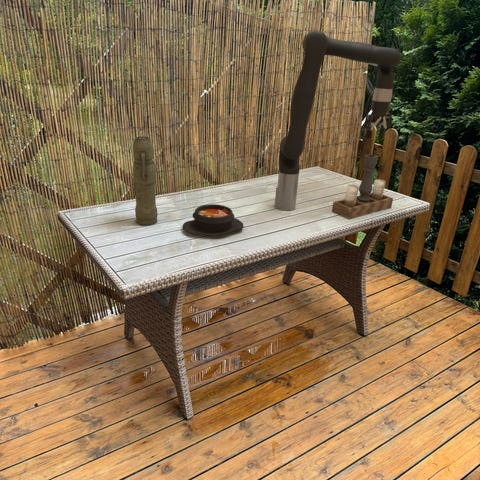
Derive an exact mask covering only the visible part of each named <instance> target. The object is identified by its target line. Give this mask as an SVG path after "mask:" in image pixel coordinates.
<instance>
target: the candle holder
mask: <svg viewBox="0 0 480 480" xmlns="http://www.w3.org/2000/svg"><path fill="white" fill-rule="evenodd" d="M378 159H379V156H378V155H376V154H369V153H368V154H365V155H364V159H363V164H364V167H363V168H362V170H363V177H362V180H361V182H360V185H359V186H358V191H359V195H357V196H358V199H357V201H359V202H361V203H363V204H367V203H370V201H369V200H370V198H369V195H370V193H372V192H373V173H374V172H375V171H376V169H375V167H376V166H377V164H378Z"/></svg>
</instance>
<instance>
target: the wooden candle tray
mask: <svg viewBox="0 0 480 480" xmlns="http://www.w3.org/2000/svg"><path fill="white" fill-rule="evenodd" d="M386 182H387V181H386V180H384V179H380V178H377V179H374V182H373V185H372V192H371V193H370V195H369V198H370V200H369V201H370V203H367V204H363V203H361V202H359V201H357V199H358V196H359V195H358V191H359V186H357V185H355V184H348V185H346V191H345V197H344V199H339V200H338V199H337V200H335V201H333V202H332V208H331V212H332V213H334V214H336V215H338V216H341V217H342V218H344V219H347V220H352V219H355V218H359V217H362V216H367V215H371V214H374V213H377V212H381V211H385V210H389V209H391V208H392V205H393V201H394V198H393V197H391V196H388V195H386V194H384V191H385V187H386V186H385V185H386Z"/></svg>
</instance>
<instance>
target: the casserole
mask: <svg viewBox="0 0 480 480" xmlns="http://www.w3.org/2000/svg"><path fill="white" fill-rule="evenodd" d="M192 218H193V219H192V220H187V221H184V223H183V224H182V229H183V230H184V231H185V232H186V233H189V234H194V235H206V236H223V235H227V234H230V233H232V232H235V231H239V230H242V229H244V223H243V222H242V221H241V220H239V219H237V218H235V214H234V212H233V210H232V209H231V207H229V206H226V205H222V204H214V203H213V204H212V203H211V204H203V205H200V206H197V207H196V208H195V210H194V211H193V213H192Z"/></svg>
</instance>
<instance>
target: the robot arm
mask: <svg viewBox="0 0 480 480" xmlns="http://www.w3.org/2000/svg"><path fill="white" fill-rule="evenodd" d="M301 43H302V45H301V46H302V49H303V52H304V54H303V59H302V60H303V61H302V67H301V70H300V72H299V74H298V77H297V80H296V83H295V85H294V88H293V91H292V97H291V102H290V108H289V110H290V112H289V113H290V114H289V116H290V117H289V128H288V131H287V135H286V136H284V137H283V138H282V140H281V142H280V144H279V155H278V176H277V177H278V179H277V187H275V196H274V197H275V199H274V208H276V209H278V210H280V211H286V212H287V211H293V210H295V209H296V205H297V197H298V196H297V195H298V186H299V176H300V169H301V168H300V157H301V155H302V154H303V152H304V147H305V139H306V131H307V128H308V124H309V121H310V117H311V112H312V110H313V105H314V102H315V97H316V94H317V93H316V92H317V89H318V81H319V76H320V72H321V71H320V70H321V68H322V64H323V61H324V59H325V56H332V57H337V58H342V59H346V60H350V61H353V62H355V61H356V62H359V63H362V64H363V63H365V64H372V65H373V64H374V65H377V69H376V70H377V71H376V73H377V74H376V75H377V76H376V77H377V78H376V81H375V87H374V91H373V95H372V101H371V106H370V110H371V111H372V112H371V114H369V113H366V115H365V119H364V124H363V129H365V130H366V133H365V138H366V139H367V140H371V139H372V134H373V129H374V128H375V127H377V125H378V126H379V127H380V128H379V133H378V137H379V138H384V137H385V133H386V129H387V128H390V125H391V124H390V123H391V118H392V113H390V112H389V111H390V107H391V102H392V97H393V90H394V89H393V88H394V85H395V84H394V82H395V74H394V67H396V66H397V65H399V63H400V62H401V60H402V54H401V52H400V50H398V49H397V48H393V47H386V46H378V45H374V44H370V43H364V42H360V41H359V42H358V41H351V40H342V39H336V38H332V37H329V36H327V35H326V33H324V32H323V31H320V30H313V31H310V32H307V34H306V35H305V36H304V37H303V40H302V42H301Z"/></svg>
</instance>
